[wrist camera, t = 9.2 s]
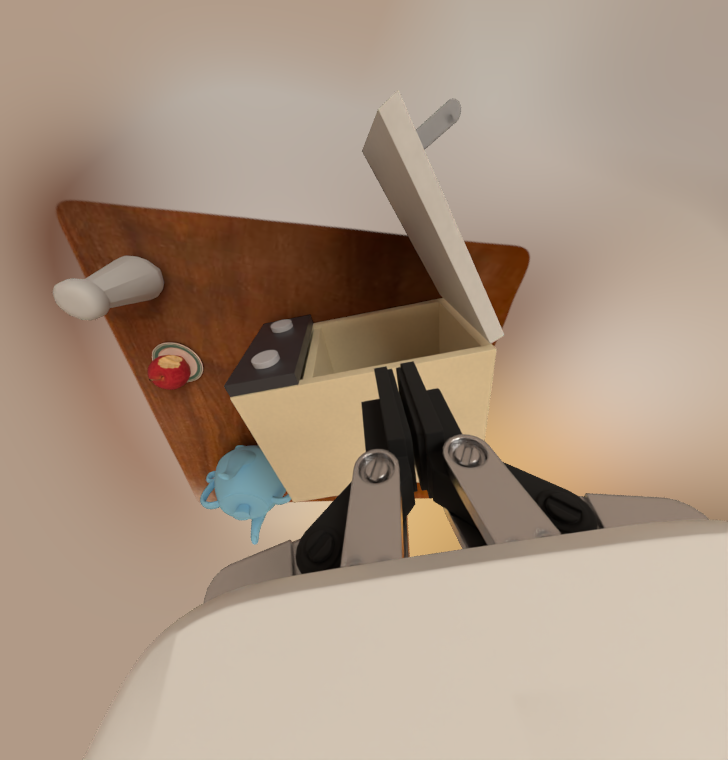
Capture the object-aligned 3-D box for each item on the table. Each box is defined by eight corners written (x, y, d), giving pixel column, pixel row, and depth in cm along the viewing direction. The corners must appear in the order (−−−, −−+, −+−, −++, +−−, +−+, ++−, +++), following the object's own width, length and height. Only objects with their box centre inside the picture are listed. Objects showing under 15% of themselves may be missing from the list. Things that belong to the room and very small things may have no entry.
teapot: (269, 488, 69) (254, 546, 58) (200, 453, 60) (166, 514, 48) (312, 460, 64) (306, 518, 52) (244, 417, 55) (218, 476, 43)
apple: (143, 345, 44) (116, 365, 39) (189, 337, 44) (167, 356, 38) (170, 383, 49) (149, 406, 43) (212, 376, 48) (196, 398, 43)
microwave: (262, 318, 43) (219, 381, 28) (443, 282, 41) (499, 328, 27) (306, 423, 57) (293, 502, 42) (443, 399, 55) (480, 472, 41)
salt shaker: (164, 255, 37) (91, 278, 26) (175, 296, 40) (115, 331, 29) (118, 250, 36) (23, 272, 25) (134, 292, 39) (56, 327, 29)
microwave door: (402, 112, 30) (458, 30, 16) (472, 272, 41) (545, 312, 26) (361, 150, 32) (377, 109, 17) (439, 294, 42) (490, 343, 28)
